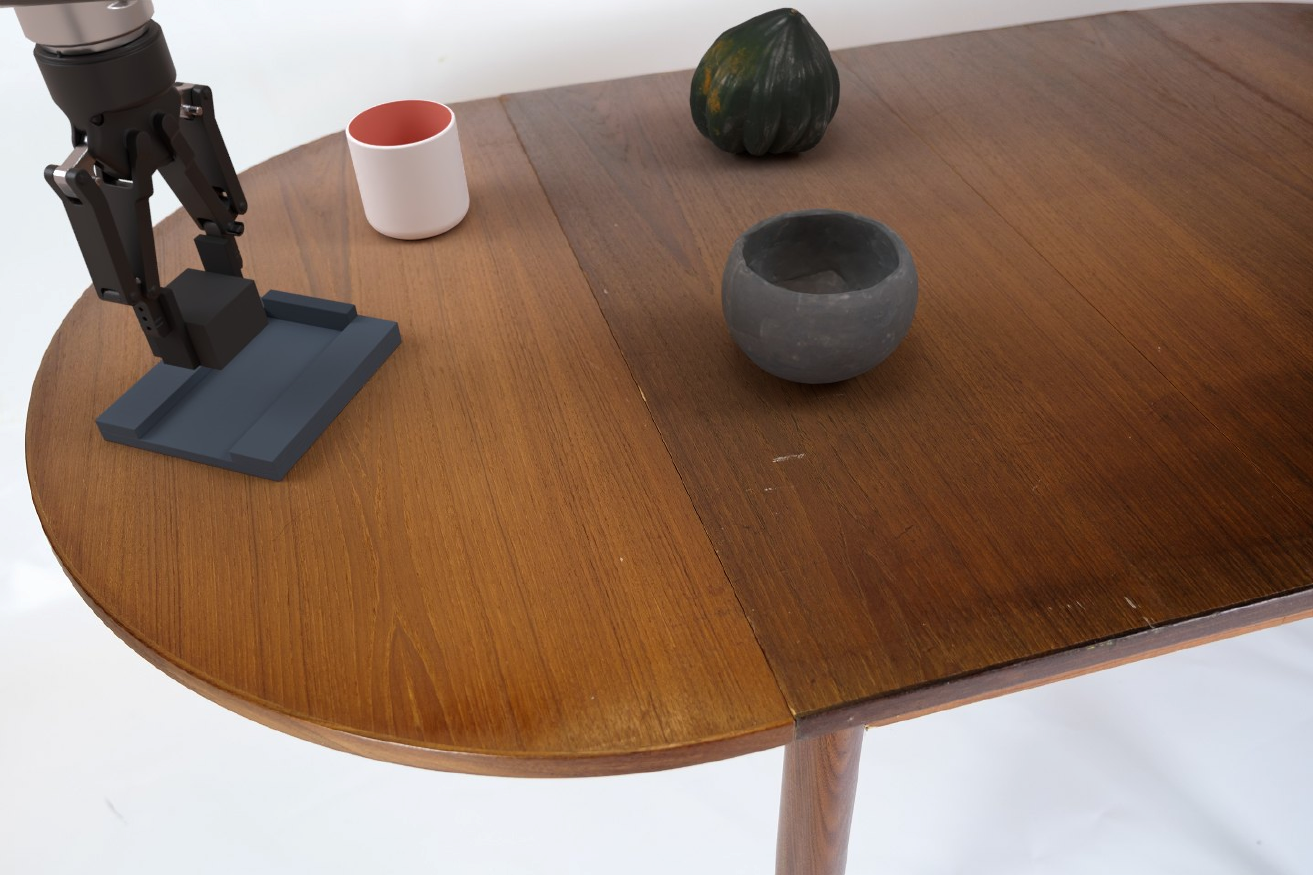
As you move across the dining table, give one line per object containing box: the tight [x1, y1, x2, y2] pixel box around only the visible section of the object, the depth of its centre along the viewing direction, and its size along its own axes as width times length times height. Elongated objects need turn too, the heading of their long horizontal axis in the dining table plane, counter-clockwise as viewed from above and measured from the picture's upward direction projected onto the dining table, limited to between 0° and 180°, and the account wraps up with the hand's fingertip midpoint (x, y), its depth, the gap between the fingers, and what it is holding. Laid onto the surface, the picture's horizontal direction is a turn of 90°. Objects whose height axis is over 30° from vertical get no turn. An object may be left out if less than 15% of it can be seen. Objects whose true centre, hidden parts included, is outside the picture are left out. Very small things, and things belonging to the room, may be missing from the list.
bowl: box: [720, 207, 919, 385], centre depth 87 cm, size 15×15×10 cm
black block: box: [143, 267, 269, 370], centre depth 83 cm, size 6×6×4 cm
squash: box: [689, 7, 841, 156], centre depth 115 cm, size 14×15×15 cm
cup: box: [345, 98, 470, 240], centre depth 107 cm, size 10×10×10 cm
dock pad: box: [94, 288, 403, 483], centre depth 90 cm, size 18×16×3 cm
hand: (210, 337), depth 84 cm, fingers closed on black block, 6 cm apart
